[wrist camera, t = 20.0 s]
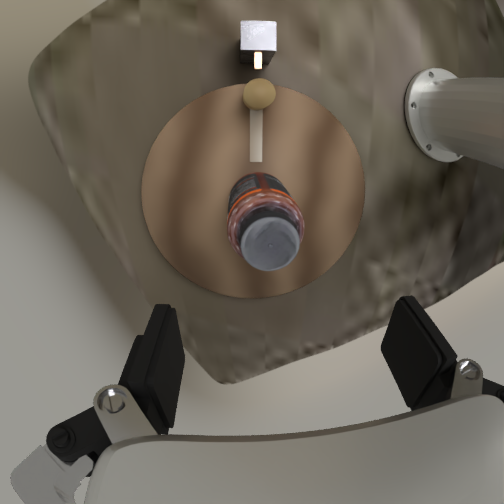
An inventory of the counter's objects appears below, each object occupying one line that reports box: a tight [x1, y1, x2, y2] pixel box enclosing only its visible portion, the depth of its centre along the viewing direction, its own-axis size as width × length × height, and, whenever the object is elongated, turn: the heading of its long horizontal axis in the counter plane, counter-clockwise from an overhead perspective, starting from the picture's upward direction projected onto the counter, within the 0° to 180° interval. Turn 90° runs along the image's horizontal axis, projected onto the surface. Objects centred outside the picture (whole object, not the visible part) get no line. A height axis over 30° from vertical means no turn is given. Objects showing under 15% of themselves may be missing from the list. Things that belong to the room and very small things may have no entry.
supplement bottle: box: [227, 172, 304, 271], centre depth 24 cm, size 6×6×11 cm
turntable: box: [141, 78, 365, 298], centre depth 28 cm, size 24×24×6 cm
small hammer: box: [240, 21, 276, 70], centre depth 22 cm, size 3×5×6 cm, turn 0°
